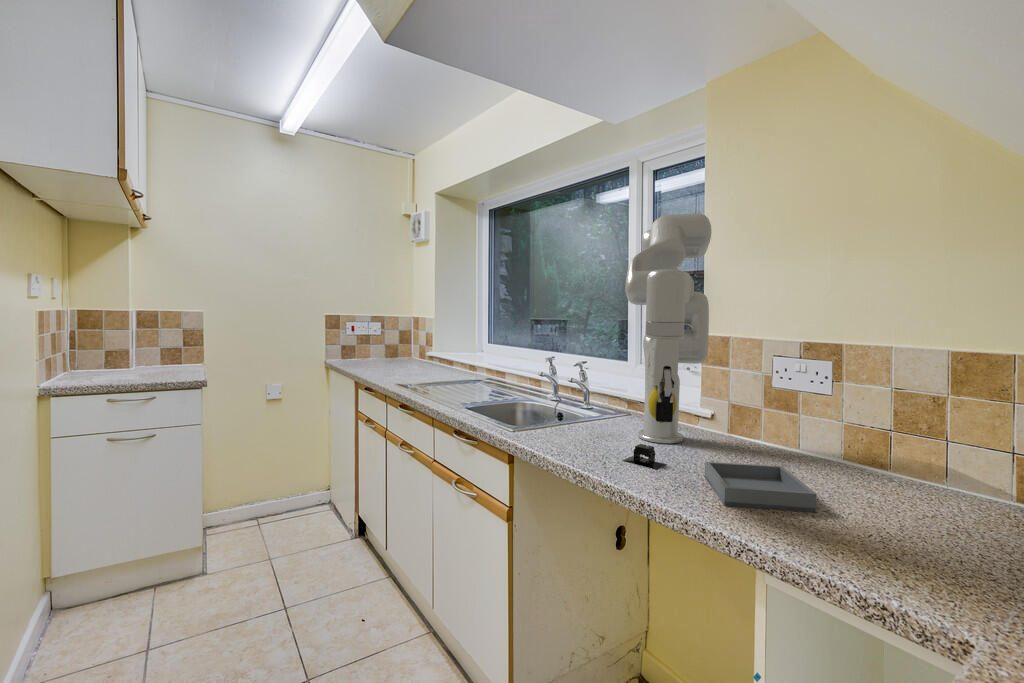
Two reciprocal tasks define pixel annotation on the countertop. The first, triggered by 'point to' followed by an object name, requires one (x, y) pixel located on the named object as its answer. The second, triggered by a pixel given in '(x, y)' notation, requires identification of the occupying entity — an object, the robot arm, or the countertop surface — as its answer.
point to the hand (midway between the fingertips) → (661, 416)
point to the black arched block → (647, 452)
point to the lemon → (654, 398)
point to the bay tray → (759, 487)
